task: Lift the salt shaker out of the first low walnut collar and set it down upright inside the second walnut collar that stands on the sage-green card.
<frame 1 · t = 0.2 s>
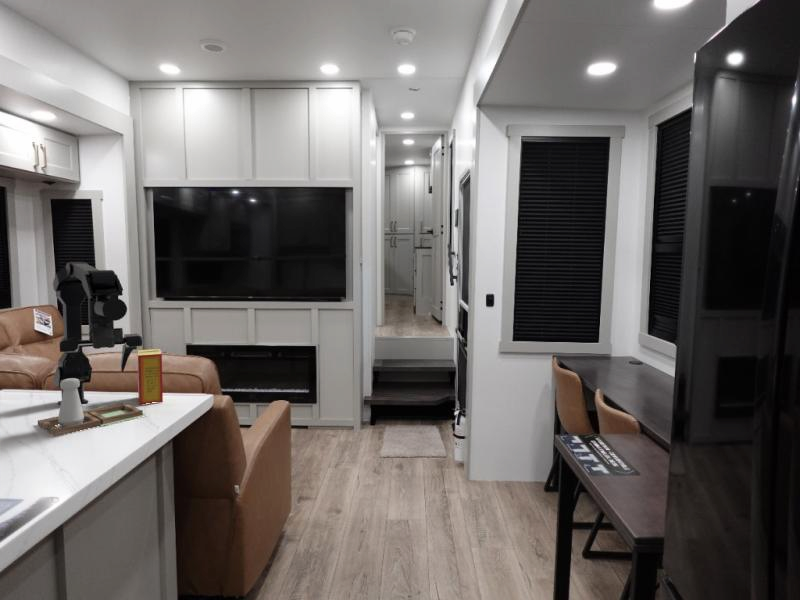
hand: (102, 373, 130), 14 cm above the counter, tool pointing down, fingers open, 9 cm apart
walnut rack: (94, 421, 133), on the counter
baking soda box: (150, 400, 154), on the counter
target card: (115, 416, 137), resting in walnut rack
salt shaker: (71, 427, 128), resting in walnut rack
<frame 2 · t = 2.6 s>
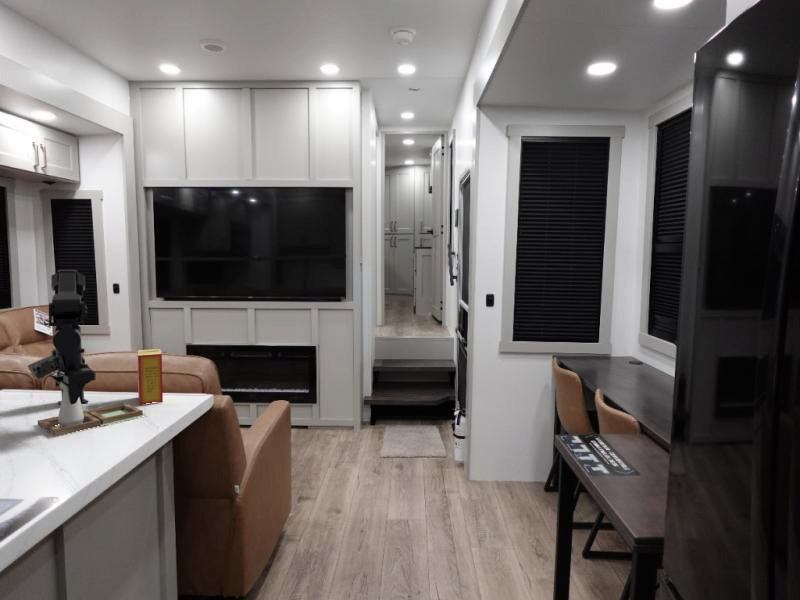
hand: (70, 403, 128), 7 cm above the counter, tool pointing down, fingers closed on salt shaker, 3 cm apart
salt shaker: (71, 427, 128), resting in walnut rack, touching gripper
everything else where it was.
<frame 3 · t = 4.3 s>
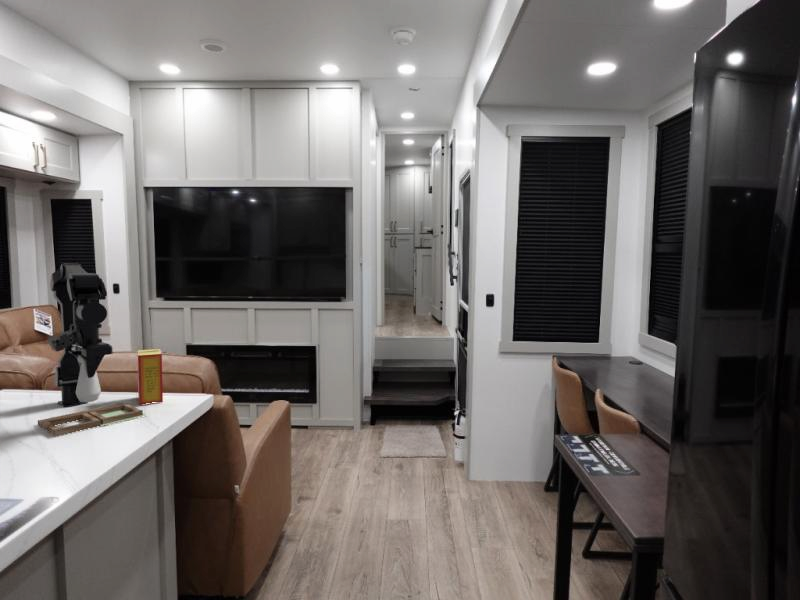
hand: (87, 376, 131), 13 cm above the counter, tool pointing down, fingers closed on salt shaker, 3 cm apart
salt shaker: (88, 400, 131), point 6 cm above the counter, touching gripper
everything else where it was.
when the fingers open (8 cm above the counter, at t = 6.3 s): salt shaker drops 1 cm, resting on target card.
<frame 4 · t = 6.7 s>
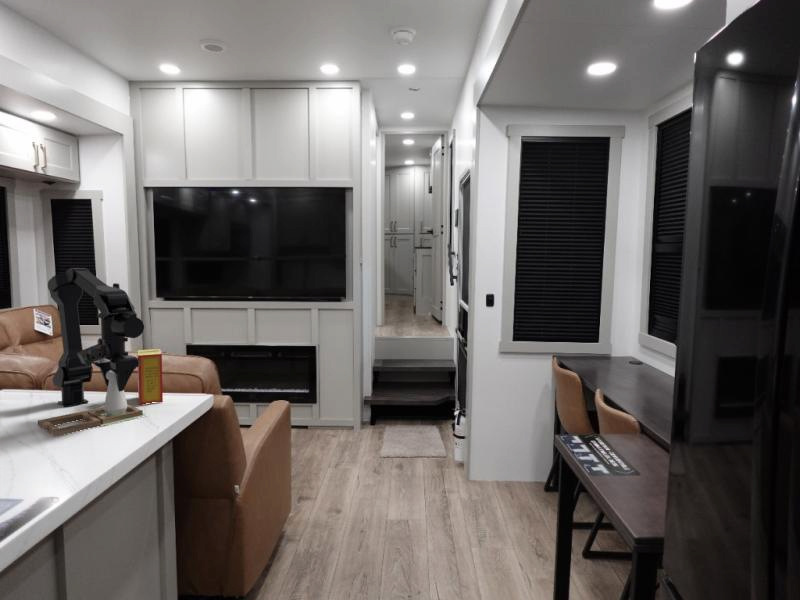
hand: (114, 388, 136), 8 cm above the counter, tool pointing down, fingers open, 8 cm apart
salt shaker: (115, 415, 137), resting on target card
everything else where it was.
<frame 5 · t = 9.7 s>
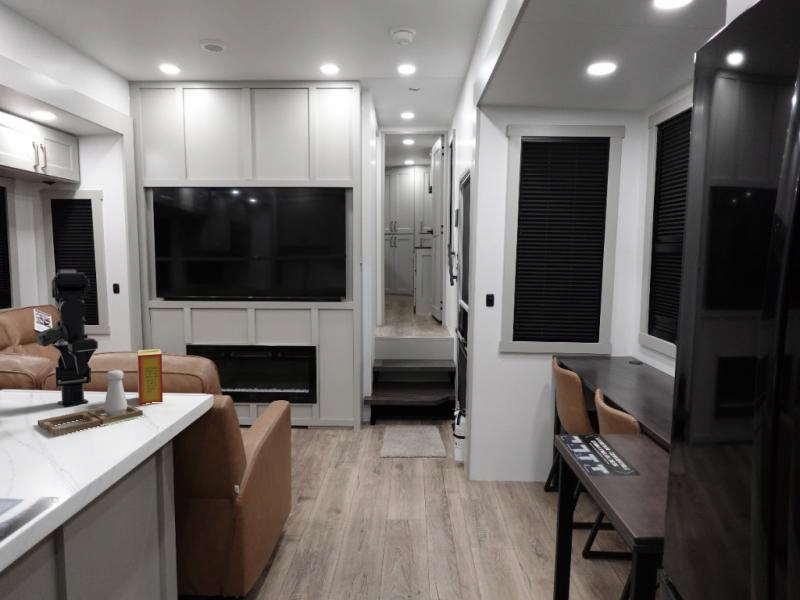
hand: (74, 371, 136), 13 cm above the counter, tool pointing down, fingers open, 9 cm apart
nothing on the counter moved.
at the end: salt shaker 0.1 cm from the target spot, resting on target card; salt shaker tilted 0°; the gripper is holding nothing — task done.
